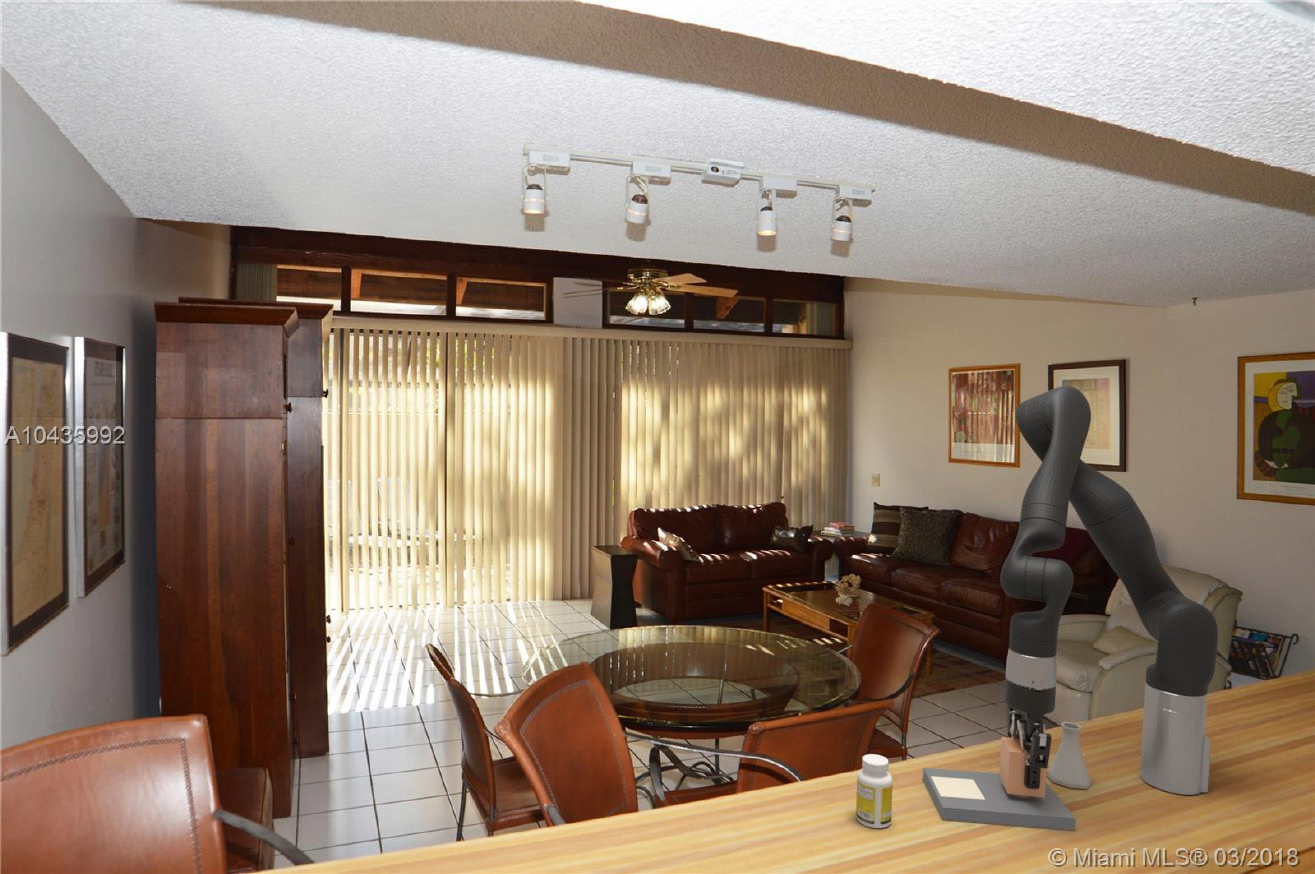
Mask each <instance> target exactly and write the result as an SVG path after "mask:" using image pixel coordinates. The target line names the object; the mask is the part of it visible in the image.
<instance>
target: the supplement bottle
mask: <svg viewBox="0 0 1315 874" xmlns="http://www.w3.org/2000/svg"><path fill="white" fill-rule="evenodd" d="M861 758H862V759H861V761H862V762H861V765H862V766H861V767H862V768H861V769H860V770H858V772H857V776H856V779H857V780H856V805H855V810H856V812H855V816H856V819H857V821H858V822H859V823H860V824H862V825H863V826H866V827H868V828H873V829H883V828H884V829H885V828H887V827H889V826H890V824H892V815H893V814H892V810H893V807H892V806H893V776H892V775H891V774H890V773H889V772H888V771H889V768H890V767H889V765H890V764H889V760H888V758H887V757H885V756H883V755H880V754H873V753H869V754H865V755H863V756H862V757H861Z"/></svg>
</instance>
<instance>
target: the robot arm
mask: <svg viewBox="0 0 1315 874" xmlns="http://www.w3.org/2000/svg"><path fill="white" fill-rule="evenodd" d="M1015 420H1016V425H1017V427H1018V429H1019V432H1020V434H1021V436H1022V437H1023V439H1024V440H1025V442H1026V443H1027V444H1028V446H1029V448H1030V449H1031V450H1032V451H1033V452H1034V454H1035V455H1036V457H1038V459H1039V460H1040V461H1041V464H1040V465H1039V467H1038V469H1037V471H1036V472H1035V474H1034V476H1033V477H1032V479H1031V481H1030V482H1029V483H1028V486H1027V488H1026V490H1025V493H1024V496H1023V499H1022V504H1021V510H1020V518H1019V525H1018V531H1017V534H1016V537H1015V539H1014V542H1013V545H1012V547H1011V549H1010V550H1009V553H1008V555H1007V557H1006V559H1005V561H1004V562H1003V565H1002V567H1001V572H1000V575H999V576H1000V577H999V579H1000V580H999V581H1000V582H999V583H1000V585H1001V588H1002V589H1003V591H1004V593H1005V594H1006V595H1007V596H1009V597H1011V598H1014V599H1020V600H1021V599H1022V600H1029V601H1036V602H1044V603H1046V606H1045V607H1044V608H1043V609H1041V610H1037V611H1023V612H1021V611H1020V612H1017V613H1015V614H1013V615H1012V616H1011V617H1010V618H1011V619H1010V622H1009V623H1010V624H1009V639H1008V640H1009V641H1008V642H1009V643H1008V651H1007V652H1008V653H1007V657H1006V667H1005V680H1004V681H1005V682H1004V683H1005V684H1004V698H1003V699H1004V702H1005V704H1006V706H1007V712H1006V713H1007V716H1006V717H1007V723H1006V724H1007V726H1006V727H1007V732H1006V734H1007V738H1014V739H1018V738H1020V745H1021V749H1022V750H1024V753H1025V772H1024V785H1025V787H1026V788H1028V789H1039V787H1040V773H1041V768H1045V769H1046V770H1048V769H1049V761H1050V752H1051V746H1052V739H1053V738H1052V735H1051V733H1049V732H1048V733H1046V724H1045V721H1044V718H1043V717H1044V716H1045V715H1047V714H1048V715H1049V714H1051V713H1053V712H1054V711H1055V709H1056V695H1057V694H1056V693H1057V677H1058V662H1057V648H1058V647H1057V646H1058V633H1059V626H1060V621H1061V618H1062V615H1063V611H1064V608H1065V606H1066V603H1067V601H1068V599H1069V597H1070V594H1071V591H1072V590H1073V587H1074V586H1073V585H1074V579H1075V578H1074V573H1073V571H1072V568H1071V567H1070V565H1069V564H1068V563H1067V562H1065V561H1063V560H1061V559H1055V558H1046V557H1038V556H1032V555H1033V554H1036V553H1040V552H1048V551H1054V550H1058V549H1060V548H1061V547H1062V546H1063V545H1064V543H1065V540H1066V530H1067V520H1068V511H1069V503H1070V505H1071V506H1072V507H1073V509H1074V511H1075V512H1076V515H1077V516H1078V518H1079V520H1080V521H1081V523H1082V524H1083V527H1084V528H1085V530H1086V531H1087V532H1088V535H1089V536H1090V538H1091V539H1092V541H1093V542H1094V544H1095V545H1096V547H1097V548H1098V550H1099V551H1100V553H1101V554H1102V556H1103V557H1104V559H1105V560H1106V561H1107V563H1108V565H1110V567H1111V569H1112V570H1113V571H1114V573H1115V574H1116V575H1117V577H1118V578H1119V579H1120V581H1121V583H1122V585H1123V586H1124V587H1125V590H1126V592H1127V594H1128V596H1129V597H1130V599H1131V600H1130V601H1131V603H1132V605H1133V606H1134V608H1135V610H1136V612H1137V614H1138V617H1139V619H1140V620H1141V623H1142V625H1143V627H1144V628H1145V630H1146V631H1147V633H1148V634H1149V635H1150V636H1151V637H1152V638H1154V640H1155V641H1157V651H1156V658H1155V662H1154V663H1153V664H1150V665H1149V666H1147V668H1146V672H1145V685H1144V686H1145V687H1144V704H1143V724H1142V741H1141V742H1142V743H1141V744H1142V745H1141V756H1140V757H1141V759H1140V778H1141V779H1142V780H1143V781H1144V782H1145V783H1146V784H1148V785H1150V786H1151V787H1154V788H1156V789H1158V790H1161V791H1165V792H1168V793H1172V794H1176V795H1177V794H1178V795H1186V796H1188V795H1189V796H1191V795H1192V796H1193V795H1198V794H1200V793H1207V794H1208V793H1209V777H1210V760H1211V759H1210V757H1211V742H1212V741H1211V738H1210V737H1209V736H1208V735H1206V732H1207V731H1206V726H1207V712H1208V711H1207V710H1208V709H1207V708H1208V694H1209V685H1210V683H1211V682H1212V680H1213V678H1214V675H1215V670H1216V660H1217V651H1218V642H1219V629H1218V622H1217V620H1216V618H1215V616H1214V614H1213V612H1212V611H1210V609H1209V608H1207V607H1205V606H1204V605H1203V604H1201V603H1198V602H1197V601H1194V600H1193V599H1191V598H1188V597H1187V596H1185V594H1183V592H1181V590H1180V589H1179V587H1178V586H1177V585H1176V584H1175V583H1174V581H1173V580H1172V578H1171V577H1170V576H1169V574H1168V573H1167V571H1166V570H1165V568H1164V566H1163V565H1162V562H1161V560H1160V558H1159V556H1158V553H1157V552H1158V551H1157V548H1156V543H1155V541H1154V536H1153V532H1152V530H1151V527H1150V524H1149V523H1148V521H1147V518H1146V517H1145V515H1144V514H1143V512H1142V511H1141V509H1140V507H1139V506H1138V504H1137V503H1136V501H1135V500H1134V498H1133V496H1132V495H1131V494H1130V492H1129V491H1128V490H1126V489H1125V488H1124V487H1123V486H1122V485H1121V484H1119V483H1118V482H1116V481H1115V480H1113V479H1112V478H1110V476H1109V477H1108V476H1107V475H1105V474H1104V473H1102V472H1101V471H1099V470H1097V469H1095V468H1094V467H1092V466H1090V465H1089V464H1087V463H1086V462H1085V461H1084V460H1082V459H1081V457H1082V453H1083V450H1084V447H1085V444H1086V440H1087V436H1088V434H1089V430H1090V427H1091V422H1092V421H1091V420H1092V410H1091V405H1090V403H1089V401H1088V399H1087V397H1086V396H1085V395H1084V393H1083V392H1081V390H1080V389H1077V388H1075V387H1074V386H1070V385H1063V386H1059V387H1056V388H1053V389H1051V390H1050V389H1049V390H1048V391H1045V392H1043V393H1041V394H1038V395H1036V396H1033V397H1030V398H1029V399H1026V400H1023V401H1022V402H1021V403H1020V404H1018V406H1017V408H1016V410H1015ZM1026 742H1030V743H1031V745H1027V743H1026ZM1037 755H1038V759H1036V756H1037Z"/></svg>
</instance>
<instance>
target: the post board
mask: <svg viewBox="0 0 1315 874" xmlns="http://www.w3.org/2000/svg"><path fill="white" fill-rule="evenodd" d="M922 780H923V783H924V785H925V786H926V788H927V791H928V793H929V795H930V796H931V800H932V801H933V803H934V805H935V807H936V810H937V812H938V814H939V816H940V818H941V820H943V821H951V822H954V821H955V822H965V823H966V822H967V823H974V824H975V823H976V824H987V825H988V824H990V825H999V826H1000V825H1001V826H1013V827H1024V828H1035V829H1048V830H1049V829H1050V830H1059V831H1060V830H1061V831H1062V830H1063V831H1073V832H1074V831H1075V832H1076V817H1075V815H1073V813H1072V812H1071V811H1070V809H1068V807H1067V806H1066V805H1065V804H1064V802H1063V800H1061V798H1060V797H1059V796H1058V795H1057V793H1056V792H1055V791H1054V789H1052V787H1051V786H1050V784H1049V783H1048V782H1047V781H1046V783H1045V798H1043V797H1034V796H1025V795H1015V794H1008V793H1007V791H1006V789H1005V787H1004V785H1003V783H1002V781H1001V779H1000V772H999V773H998V772H985V771H983V772H982V771H968V770H960V769H959V770H958V769H944V768H933V767H922Z"/></svg>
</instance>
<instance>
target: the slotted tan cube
mask: <svg viewBox="0 0 1315 874" xmlns="http://www.w3.org/2000/svg"><path fill="white" fill-rule="evenodd" d="M1000 740H1001V741H1000V761H999V762H1000V763H999V765H1000V766H999V774H1000V779H1001V781H1002V783H1003V785H1004V787H1005V789H1006V791H1007V793H1008V794H1015V795H1025V796H1034V797H1043V798H1045V783H1046V782H1047V781H1046V778H1047V775H1046V774H1047V769H1045V768H1041V773H1040V787H1039V789H1028V788H1026V787H1025V785H1024V772H1025V753H1024V750H1022V749H1021V745H1020V738H1018V739H1014V738H1008V736H1001V739H1000ZM1026 743H1027V745H1031V743H1030V742H1026ZM1036 759H1038V755H1037V756H1036Z"/></svg>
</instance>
